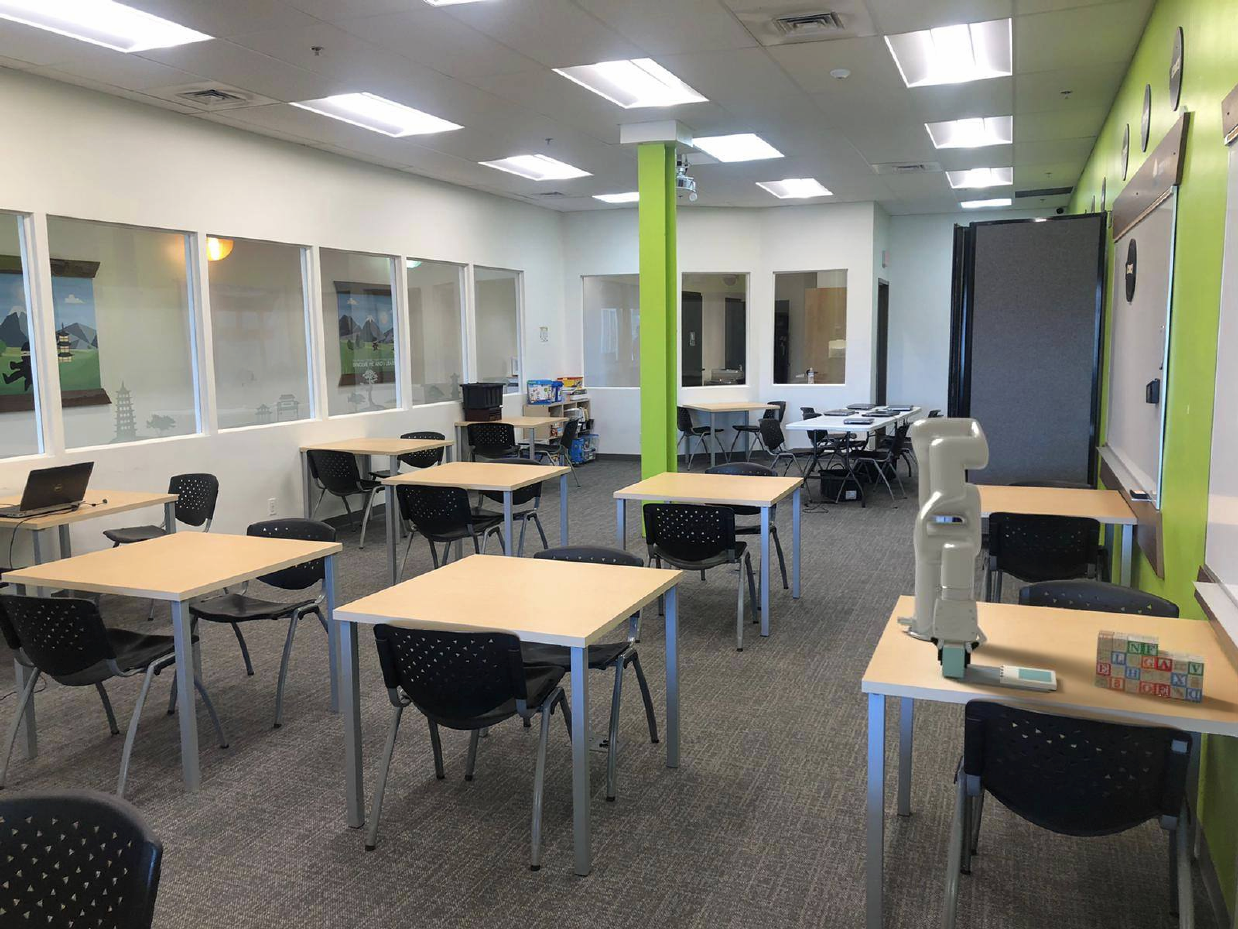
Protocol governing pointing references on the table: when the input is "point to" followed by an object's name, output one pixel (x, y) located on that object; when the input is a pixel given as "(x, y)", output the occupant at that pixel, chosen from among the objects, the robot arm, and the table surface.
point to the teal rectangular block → (953, 658)
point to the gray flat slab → (1010, 677)
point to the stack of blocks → (1147, 667)
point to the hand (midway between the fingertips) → (953, 664)
